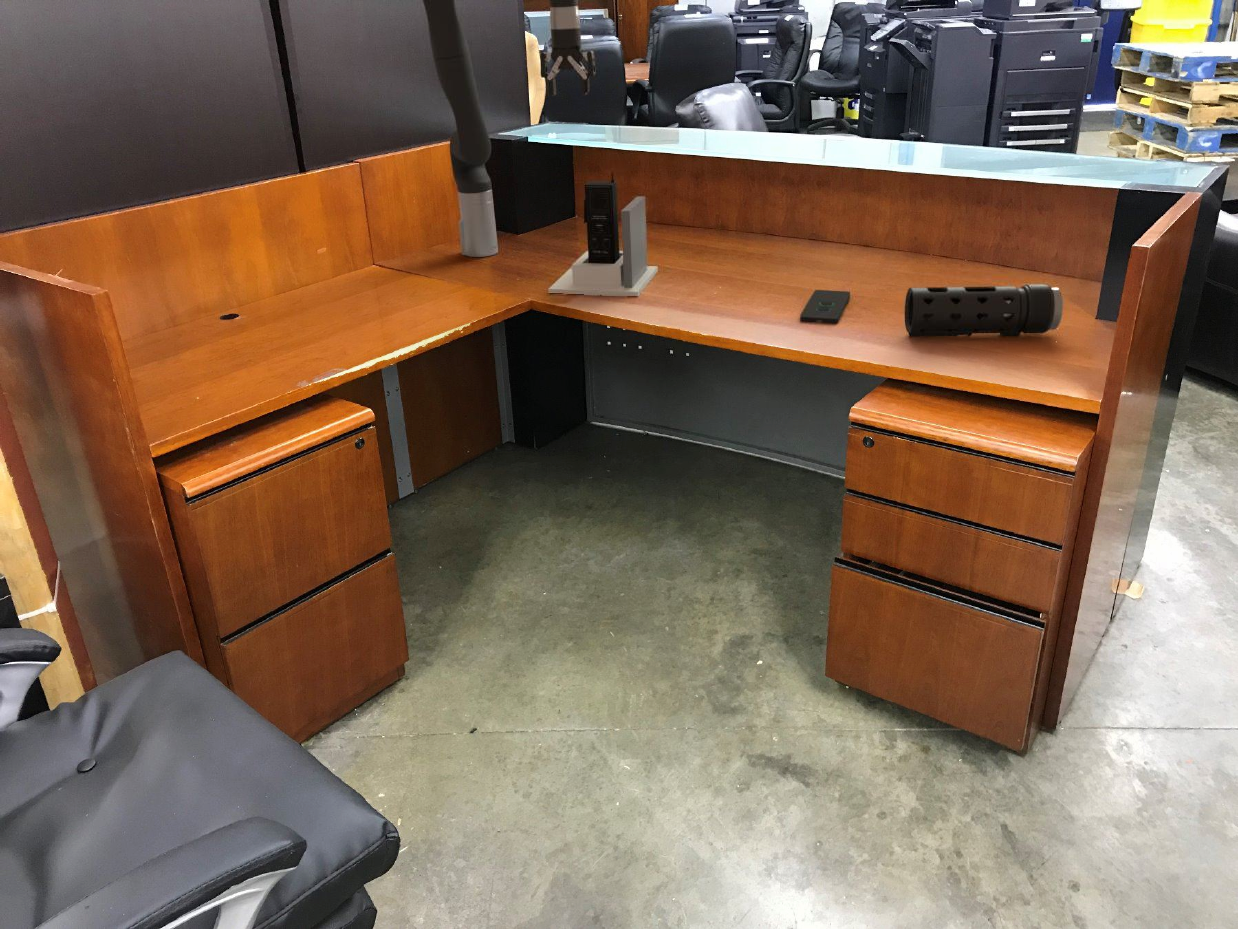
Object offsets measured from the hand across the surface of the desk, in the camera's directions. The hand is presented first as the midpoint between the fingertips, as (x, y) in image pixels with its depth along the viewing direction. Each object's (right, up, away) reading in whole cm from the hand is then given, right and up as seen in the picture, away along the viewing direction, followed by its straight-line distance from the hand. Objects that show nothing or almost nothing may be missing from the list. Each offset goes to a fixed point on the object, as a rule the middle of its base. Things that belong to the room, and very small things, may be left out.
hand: (569, 94), depth 249 cm
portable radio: (+9, -50, -13) cm, 53 cm away
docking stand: (+9, -51, -13) cm, 54 cm away
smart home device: (+58, -63, -39) cm, 94 cm away
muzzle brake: (+85, -71, -58) cm, 125 cm away
